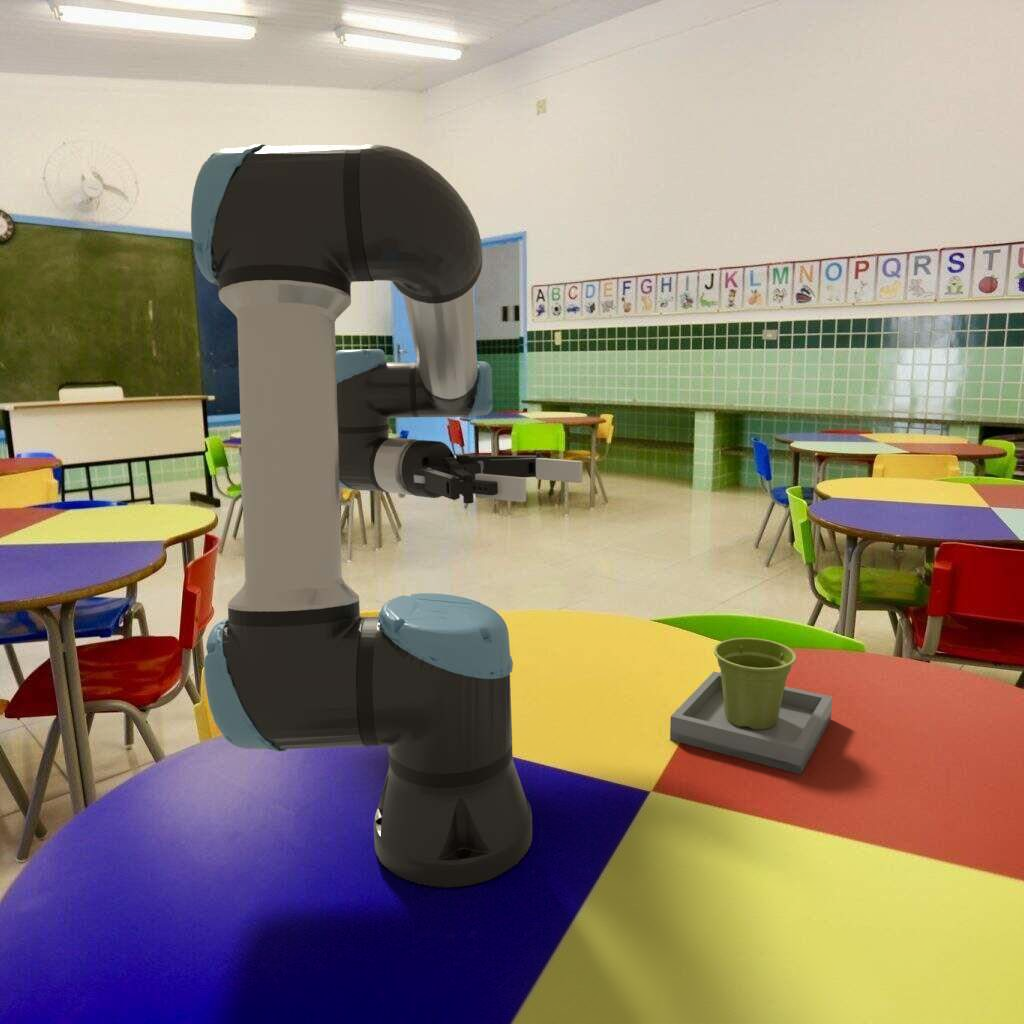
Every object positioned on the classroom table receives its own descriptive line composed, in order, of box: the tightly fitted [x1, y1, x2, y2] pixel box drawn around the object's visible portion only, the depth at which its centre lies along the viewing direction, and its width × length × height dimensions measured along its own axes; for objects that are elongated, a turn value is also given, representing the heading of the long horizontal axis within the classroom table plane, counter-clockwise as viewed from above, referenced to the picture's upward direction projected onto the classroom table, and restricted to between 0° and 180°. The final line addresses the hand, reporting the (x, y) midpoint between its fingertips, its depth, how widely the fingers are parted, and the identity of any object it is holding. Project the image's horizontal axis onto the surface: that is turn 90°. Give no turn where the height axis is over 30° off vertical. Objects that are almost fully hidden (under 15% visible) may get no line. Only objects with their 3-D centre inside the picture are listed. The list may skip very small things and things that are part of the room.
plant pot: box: [713, 637, 797, 730], centre depth 97 cm, size 9×9×9 cm
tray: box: [669, 671, 833, 775], centre depth 97 cm, size 15×15×3 cm
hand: (554, 480), depth 97 cm, fingers open, 13 cm apart
